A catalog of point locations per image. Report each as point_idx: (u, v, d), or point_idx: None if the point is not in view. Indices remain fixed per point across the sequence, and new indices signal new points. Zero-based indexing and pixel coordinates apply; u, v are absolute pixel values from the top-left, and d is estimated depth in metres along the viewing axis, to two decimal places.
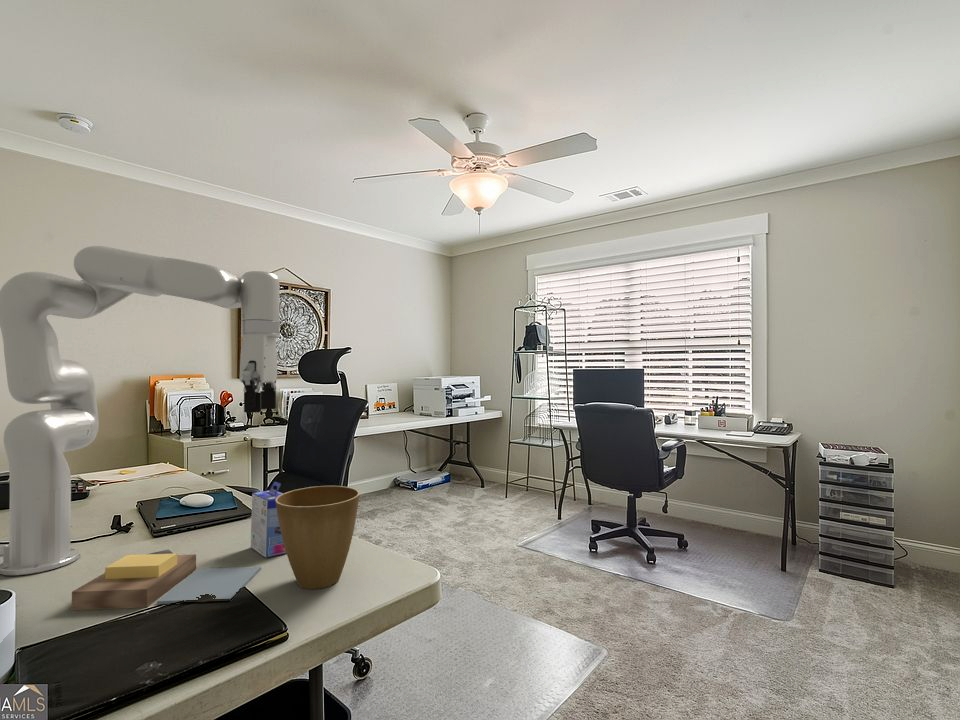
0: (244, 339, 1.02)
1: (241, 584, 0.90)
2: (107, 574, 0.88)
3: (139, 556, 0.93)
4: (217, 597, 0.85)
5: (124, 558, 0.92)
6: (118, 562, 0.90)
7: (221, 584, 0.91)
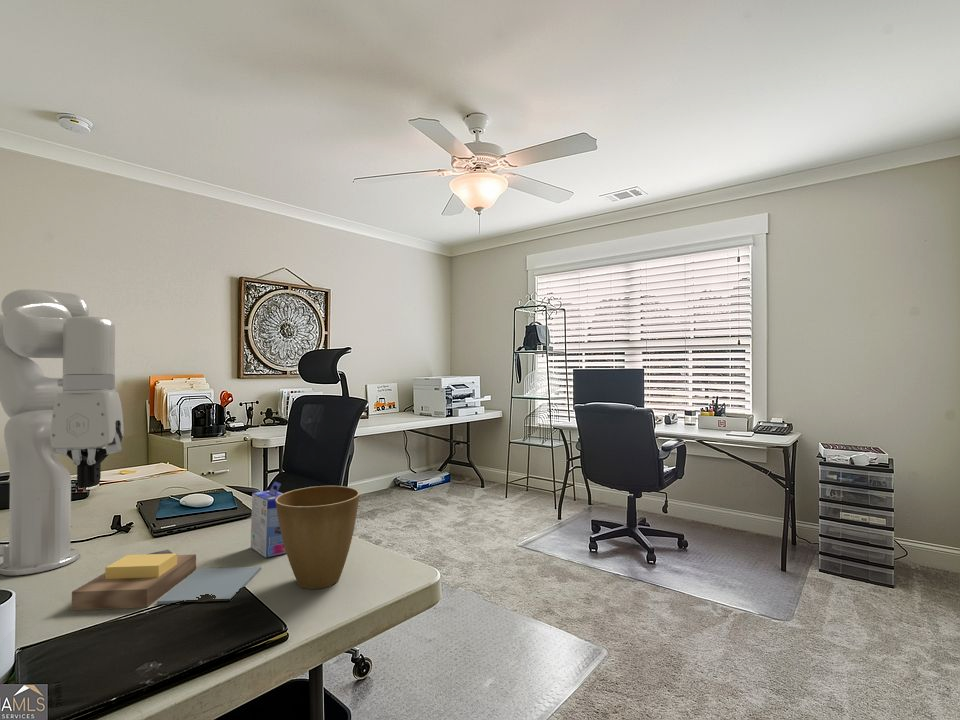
0: (107, 397, 0.90)
1: (241, 584, 0.90)
2: (107, 574, 0.88)
3: (139, 556, 0.93)
4: (217, 597, 0.85)
5: (124, 558, 0.92)
6: (118, 562, 0.90)
7: (221, 584, 0.91)
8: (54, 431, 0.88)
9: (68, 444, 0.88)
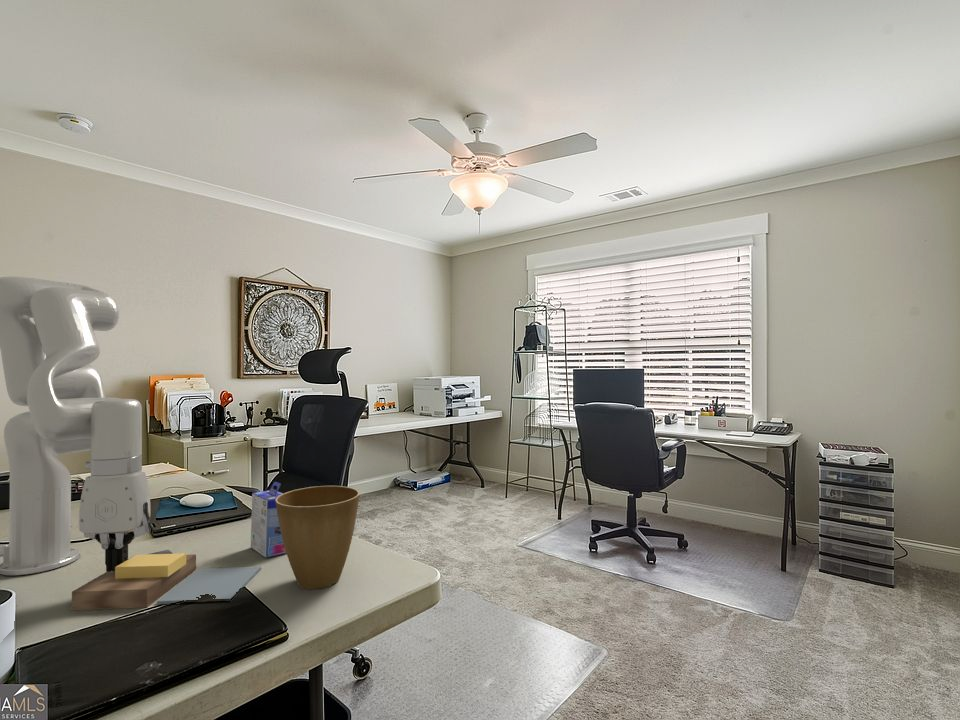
0: (135, 480, 0.89)
1: (241, 584, 0.90)
2: (117, 574, 0.88)
3: (148, 556, 0.93)
4: (217, 597, 0.85)
5: (134, 558, 0.92)
6: (128, 562, 0.90)
7: (221, 584, 0.91)
8: (83, 516, 0.88)
9: (96, 529, 0.88)
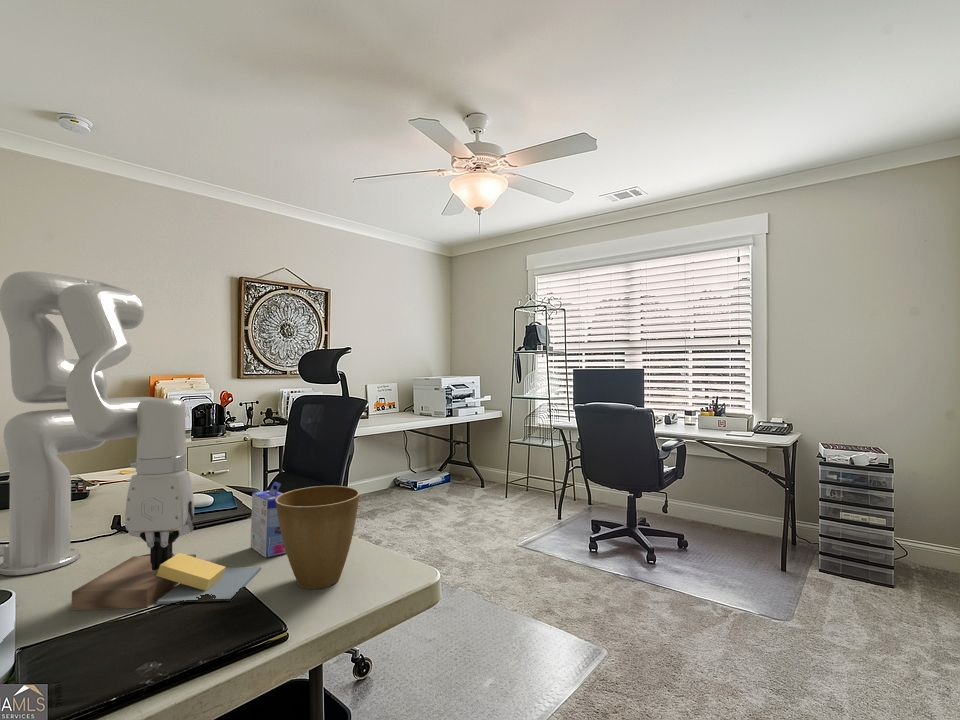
0: (181, 479, 0.90)
1: (241, 584, 0.90)
2: (159, 572, 0.88)
3: (190, 559, 0.93)
4: (217, 597, 0.85)
5: (177, 557, 0.92)
6: (171, 561, 0.90)
7: (221, 584, 0.91)
8: (129, 515, 0.88)
9: (143, 528, 0.88)
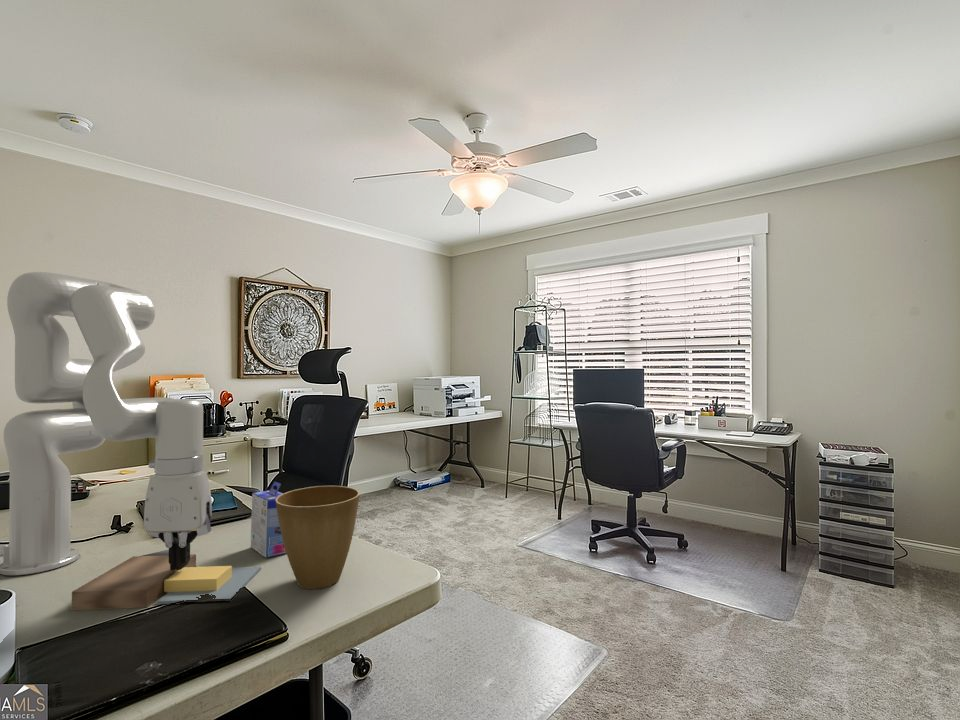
0: (199, 480, 0.90)
1: (241, 584, 0.90)
2: (166, 587, 0.88)
3: (195, 569, 0.93)
4: (217, 597, 0.85)
5: (180, 571, 0.92)
6: (175, 575, 0.90)
7: None
8: (148, 515, 0.89)
9: (161, 528, 0.88)
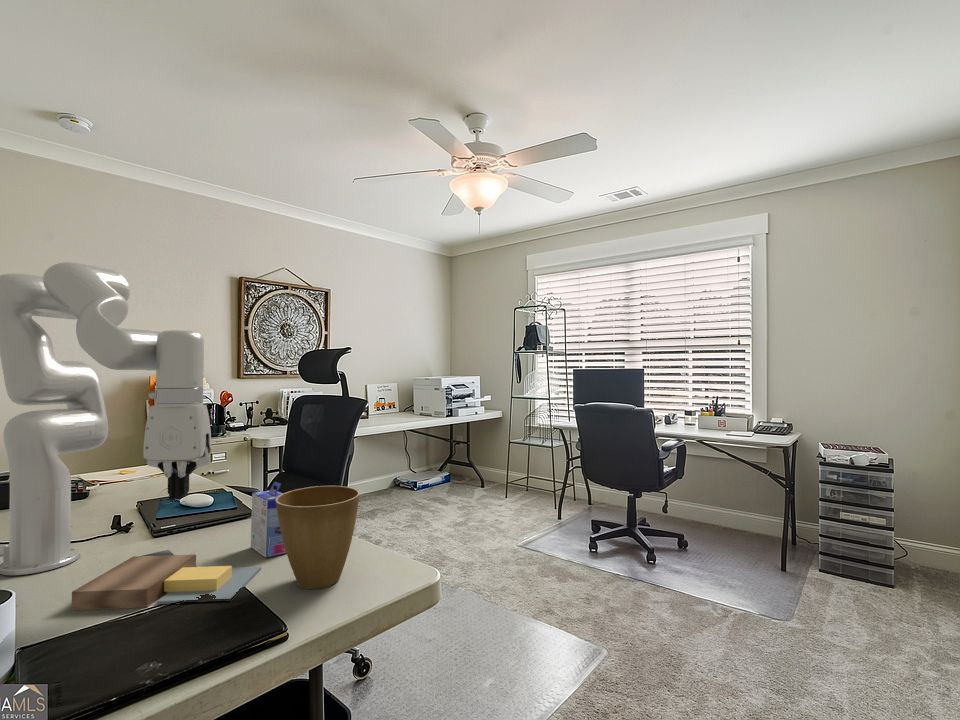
0: (199, 410, 0.90)
1: (241, 584, 0.90)
2: (166, 587, 0.88)
3: (195, 569, 0.93)
4: (217, 597, 0.85)
5: (180, 571, 0.92)
6: (175, 575, 0.90)
7: None
8: (147, 444, 0.89)
9: (161, 457, 0.89)
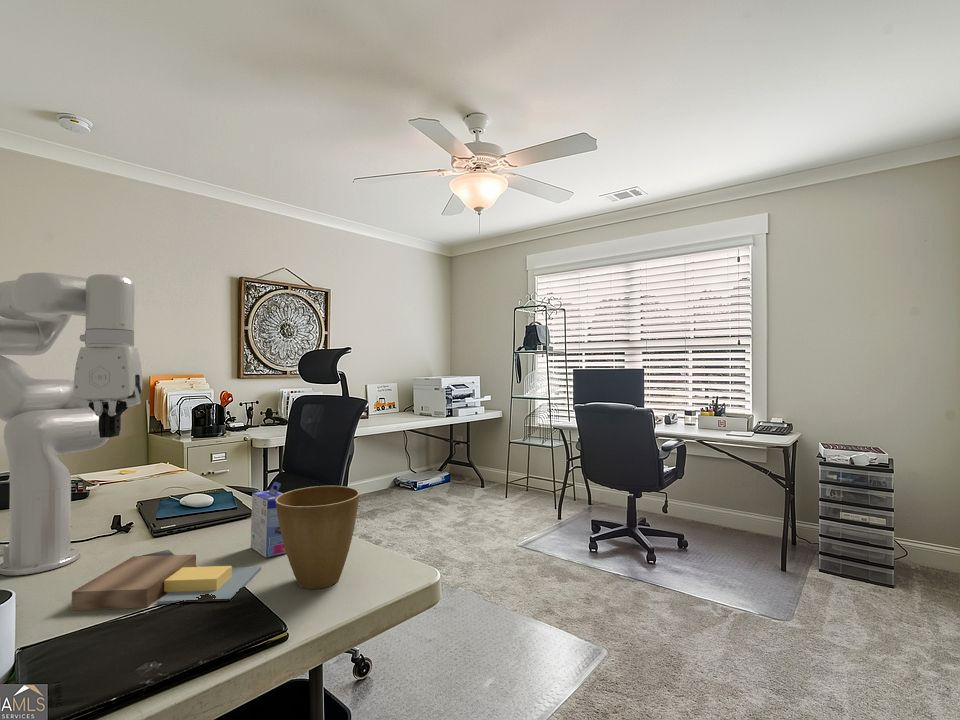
0: (128, 351, 0.94)
1: (241, 584, 0.90)
2: (166, 587, 0.88)
3: (195, 569, 0.93)
4: (217, 597, 0.85)
5: (180, 571, 0.92)
6: (175, 575, 0.90)
7: None
8: (77, 383, 0.92)
9: (90, 395, 0.92)
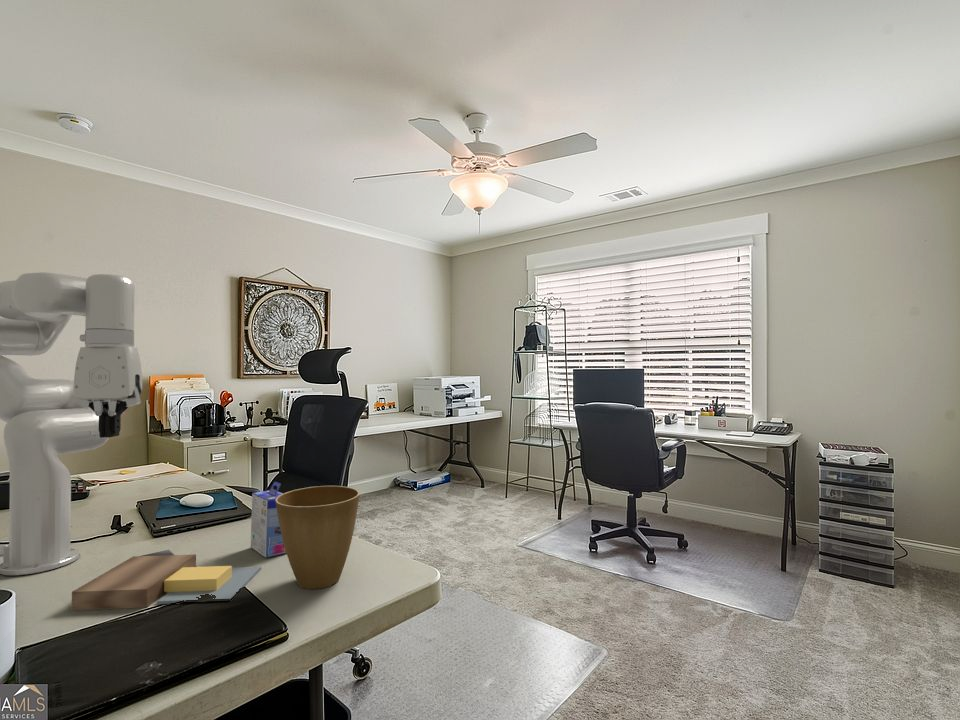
0: (128, 351, 0.94)
1: (241, 584, 0.90)
2: (166, 587, 0.88)
3: (195, 569, 0.93)
4: (217, 597, 0.85)
5: (180, 571, 0.92)
6: (175, 575, 0.90)
7: None
8: (77, 383, 0.92)
9: (90, 395, 0.92)
